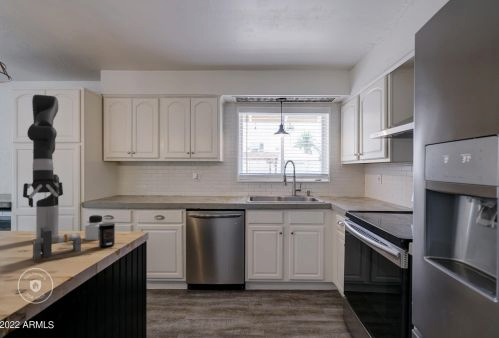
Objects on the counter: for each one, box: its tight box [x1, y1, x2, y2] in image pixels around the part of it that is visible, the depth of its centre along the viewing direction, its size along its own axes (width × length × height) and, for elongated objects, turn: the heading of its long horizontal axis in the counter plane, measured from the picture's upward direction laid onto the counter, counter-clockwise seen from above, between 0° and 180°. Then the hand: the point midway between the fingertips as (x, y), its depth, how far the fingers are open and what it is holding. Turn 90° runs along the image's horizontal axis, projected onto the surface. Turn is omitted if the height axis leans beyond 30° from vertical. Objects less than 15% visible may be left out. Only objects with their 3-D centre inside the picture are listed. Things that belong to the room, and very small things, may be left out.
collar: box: [41, 227, 53, 257], centre depth 116 cm, size 10×2×10 cm, turn 43°
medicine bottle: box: [84, 214, 103, 241], centre depth 148 cm, size 7×7×12 cm
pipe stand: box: [32, 232, 83, 264], centre depth 119 cm, size 8×16×9 cm, turn 133°
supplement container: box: [98, 222, 116, 249], centre depth 135 cm, size 7×7×10 cm
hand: (43, 206), depth 126 cm, fingers open, 8 cm apart
